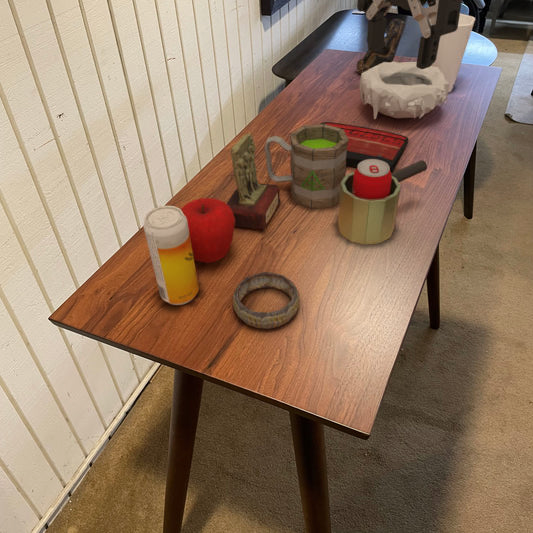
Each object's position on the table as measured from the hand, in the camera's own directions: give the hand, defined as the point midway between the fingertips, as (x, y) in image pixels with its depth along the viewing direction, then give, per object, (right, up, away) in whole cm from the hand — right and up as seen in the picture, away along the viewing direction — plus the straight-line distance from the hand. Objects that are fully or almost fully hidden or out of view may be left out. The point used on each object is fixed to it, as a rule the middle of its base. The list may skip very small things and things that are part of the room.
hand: (398, 57), depth 66 cm
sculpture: (-19, -17, +30) cm, 40 cm away
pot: (+4, -18, +28) cm, 33 cm away
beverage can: (+1, -20, +26) cm, 32 cm away
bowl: (+16, +11, +60) cm, 63 cm away
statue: (+14, +27, +78) cm, 84 cm away
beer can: (-31, -31, +15) cm, 46 cm away
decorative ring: (-17, -33, +12) cm, 39 cm away
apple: (-27, -25, +22) cm, 43 cm away
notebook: (+2, -1, +48) cm, 48 cm away
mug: (-9, -12, +35) cm, 39 cm away
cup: (+29, +20, +70) cm, 78 cm away
